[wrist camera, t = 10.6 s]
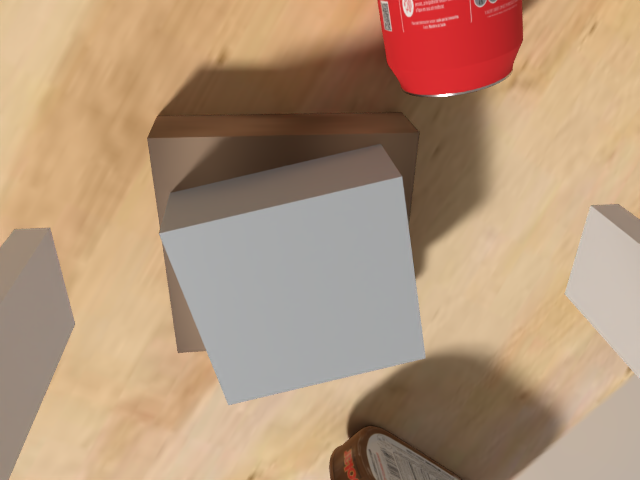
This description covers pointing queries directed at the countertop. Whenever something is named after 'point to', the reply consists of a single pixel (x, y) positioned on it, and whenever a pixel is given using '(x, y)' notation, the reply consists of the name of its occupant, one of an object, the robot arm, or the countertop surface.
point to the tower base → (260, 162)
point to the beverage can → (450, 43)
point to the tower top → (298, 272)
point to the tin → (383, 459)
